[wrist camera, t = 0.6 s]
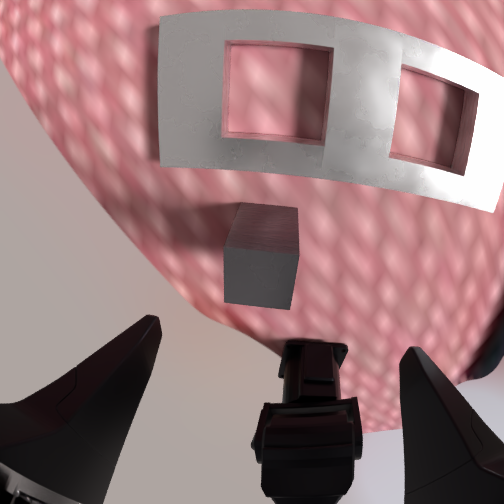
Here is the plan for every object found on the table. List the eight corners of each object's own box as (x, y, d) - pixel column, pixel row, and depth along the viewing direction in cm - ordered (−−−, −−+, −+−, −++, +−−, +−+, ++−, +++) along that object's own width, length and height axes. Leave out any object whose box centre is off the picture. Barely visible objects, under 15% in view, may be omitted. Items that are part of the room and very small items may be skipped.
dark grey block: (291, 255, 22) (289, 309, 17) (239, 249, 22) (224, 302, 18) (297, 207, 20) (299, 254, 15) (240, 202, 20) (223, 246, 15)
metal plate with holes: (480, 201, 17) (493, 213, 16) (171, 158, 19) (160, 167, 17) (504, 85, 12) (519, 88, 10) (172, 22, 13) (160, 16, 12)
